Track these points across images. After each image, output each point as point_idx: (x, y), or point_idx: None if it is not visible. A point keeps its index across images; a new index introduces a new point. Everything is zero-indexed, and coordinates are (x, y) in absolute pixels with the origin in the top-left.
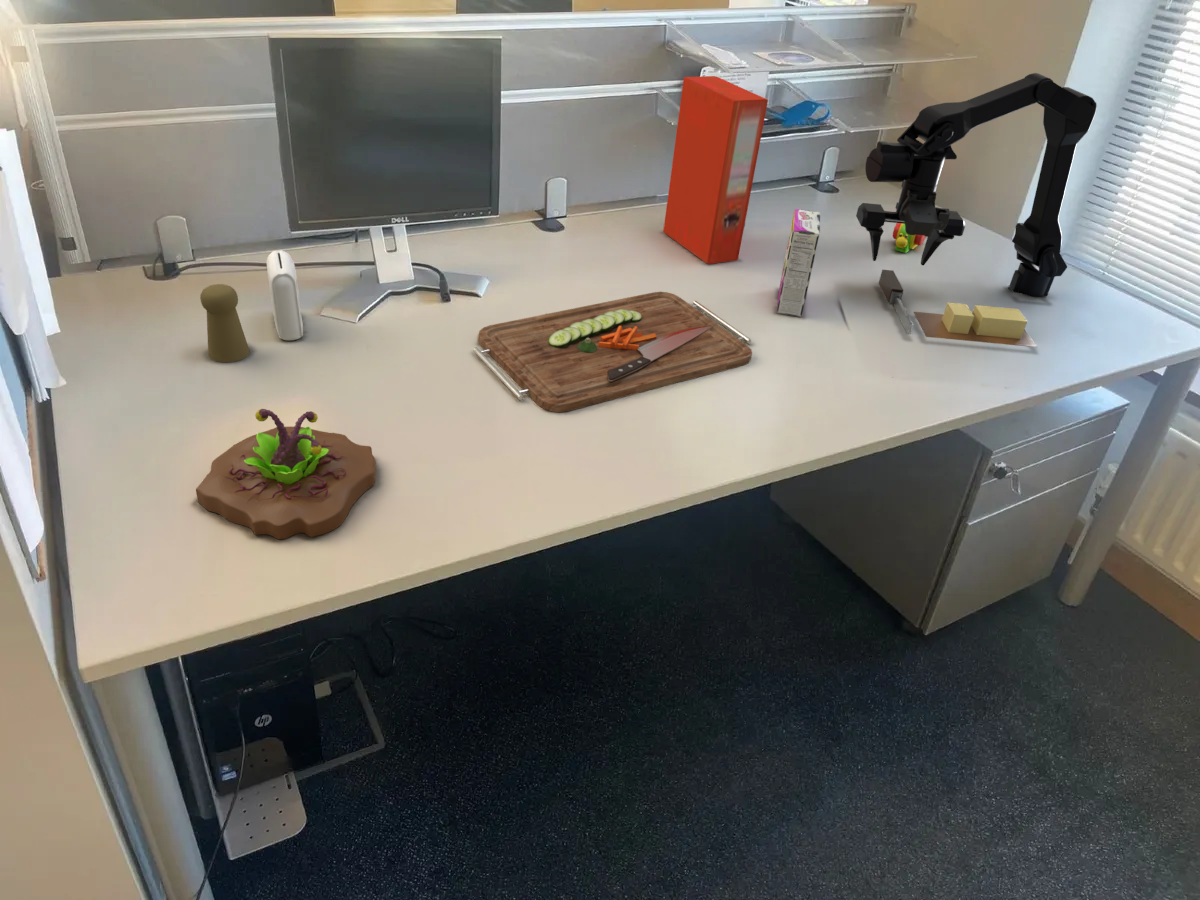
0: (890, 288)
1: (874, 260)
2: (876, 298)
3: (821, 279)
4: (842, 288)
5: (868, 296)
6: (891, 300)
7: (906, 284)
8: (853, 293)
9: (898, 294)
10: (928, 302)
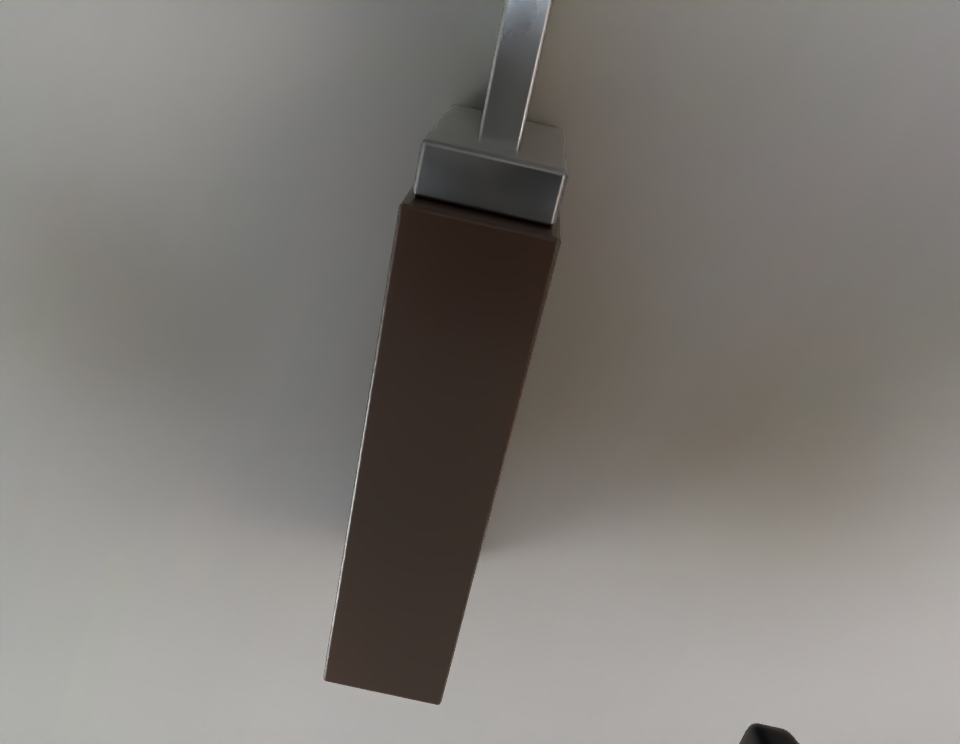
0: (544, 294)
1: (781, 729)
2: (562, 385)
3: (889, 712)
4: (796, 572)
5: (624, 425)
6: (557, 145)
7: (173, 606)
8: (744, 484)
9: (485, 151)
10: (58, 293)
